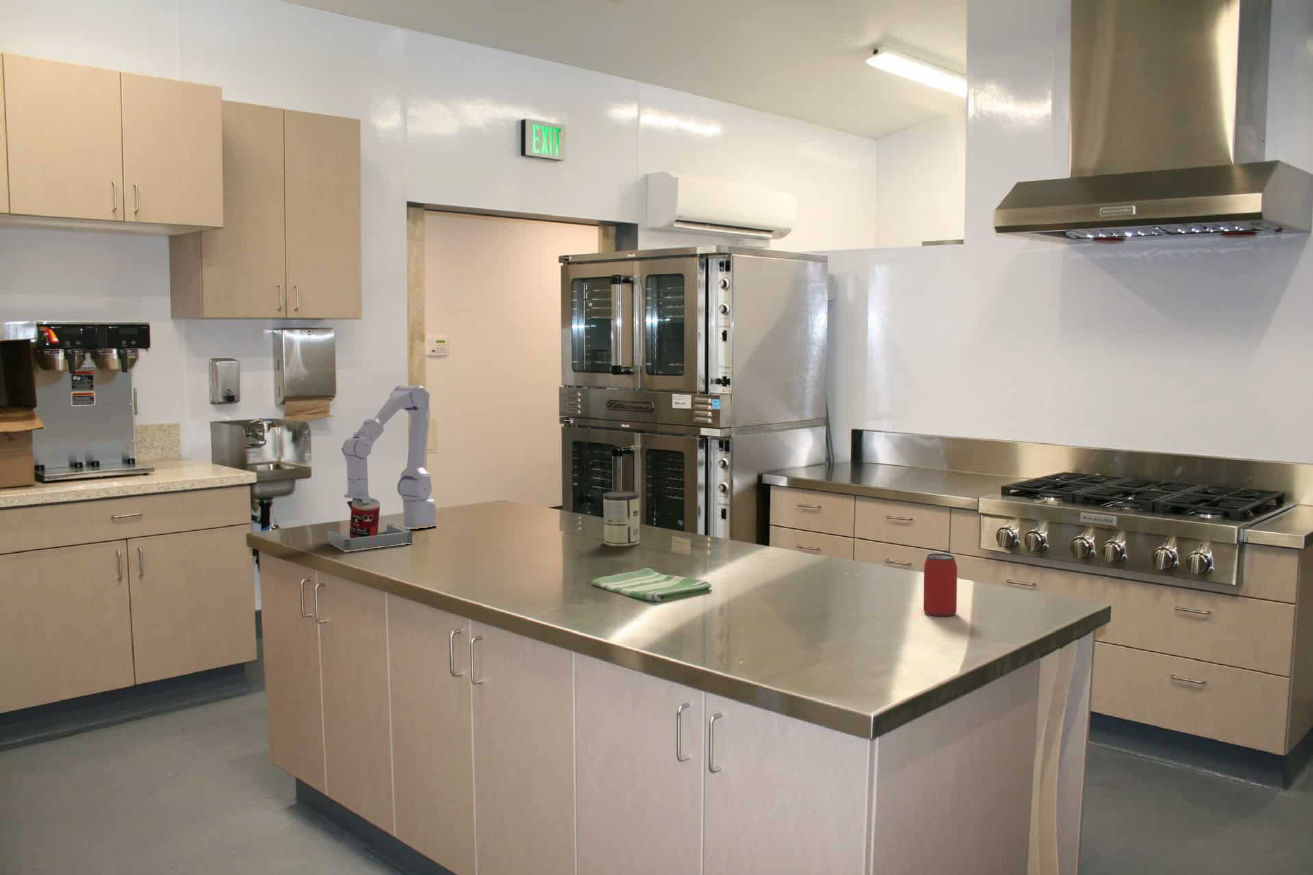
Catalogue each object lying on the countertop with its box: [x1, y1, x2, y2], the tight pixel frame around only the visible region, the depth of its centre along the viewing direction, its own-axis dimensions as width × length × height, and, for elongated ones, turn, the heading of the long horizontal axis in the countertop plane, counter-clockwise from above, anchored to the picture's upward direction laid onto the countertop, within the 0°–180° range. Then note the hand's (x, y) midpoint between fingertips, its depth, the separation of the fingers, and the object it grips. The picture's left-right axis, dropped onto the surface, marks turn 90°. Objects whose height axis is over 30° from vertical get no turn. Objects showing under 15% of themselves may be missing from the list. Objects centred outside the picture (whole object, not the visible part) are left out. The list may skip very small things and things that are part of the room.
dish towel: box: [590, 567, 713, 603], centre depth 233 cm, size 18×23×3 cm
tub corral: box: [326, 523, 413, 550], centre depth 288 cm, size 19×16×4 cm
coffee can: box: [602, 490, 641, 547], centre depth 285 cm, size 10×10×14 cm
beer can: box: [923, 552, 958, 618], centre depth 208 cm, size 7×7×12 cm
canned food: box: [349, 497, 381, 539], centre depth 291 cm, size 8×8×11 cm
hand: (359, 524), depth 295 cm, fingers closed
